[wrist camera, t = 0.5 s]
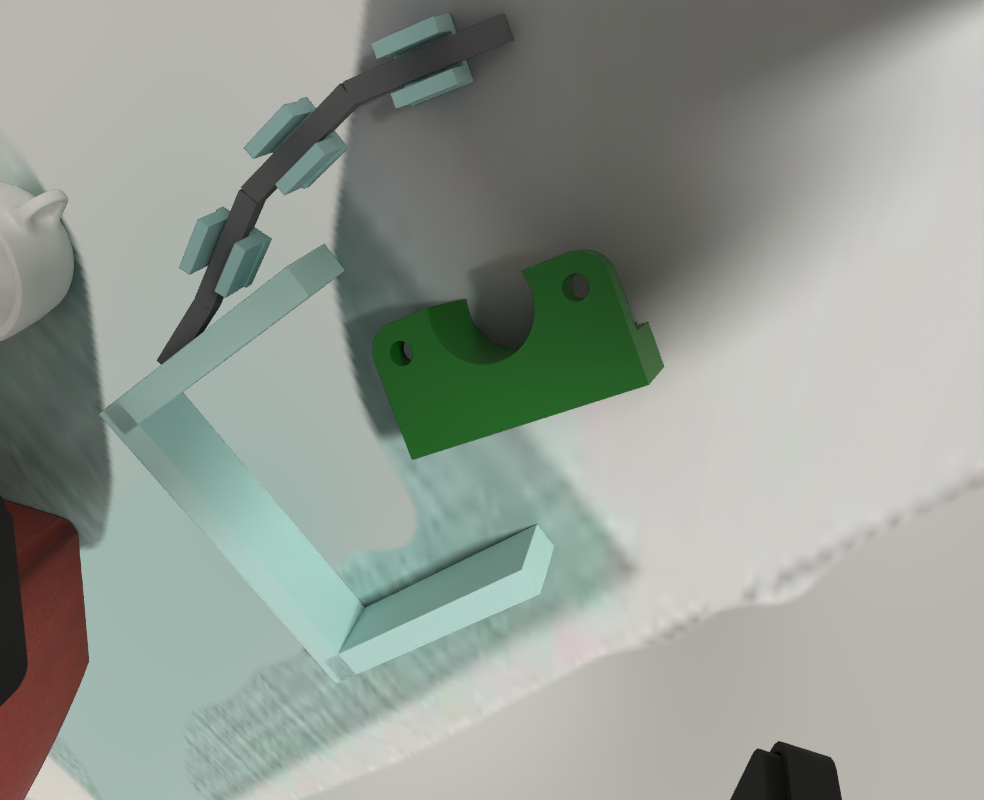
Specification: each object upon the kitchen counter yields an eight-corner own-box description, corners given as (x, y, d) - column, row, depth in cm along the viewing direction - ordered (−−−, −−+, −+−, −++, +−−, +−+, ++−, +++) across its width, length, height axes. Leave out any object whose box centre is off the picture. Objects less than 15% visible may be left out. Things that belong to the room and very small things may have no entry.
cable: (475, -31, 32) (469, -32, 32) (549, 83, 34) (545, 84, 33) (113, 290, 43) (101, 295, 42) (178, 368, 44) (168, 375, 43)
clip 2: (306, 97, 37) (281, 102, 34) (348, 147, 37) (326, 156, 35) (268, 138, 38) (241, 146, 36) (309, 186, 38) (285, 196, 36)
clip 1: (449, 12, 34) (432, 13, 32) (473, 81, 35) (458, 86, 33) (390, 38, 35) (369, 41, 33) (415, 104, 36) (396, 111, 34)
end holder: (324, 243, 39) (286, 266, 36) (554, 546, 44) (540, 593, 40) (145, 382, 46) (98, 413, 42) (362, 635, 50) (336, 683, 46)
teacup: (39, 334, 46) (-38, 372, 41) (-57, 218, 44) (-149, 243, 40) (151, 246, 42) (80, 276, 37) (50, 112, 40) (-39, 127, 35)
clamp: (600, 250, 41) (639, 224, 32) (640, 363, 41) (690, 369, 32) (374, 334, 41) (350, 332, 32) (417, 446, 41) (405, 475, 32)
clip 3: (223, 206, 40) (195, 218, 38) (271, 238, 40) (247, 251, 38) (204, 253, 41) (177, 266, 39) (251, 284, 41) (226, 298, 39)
